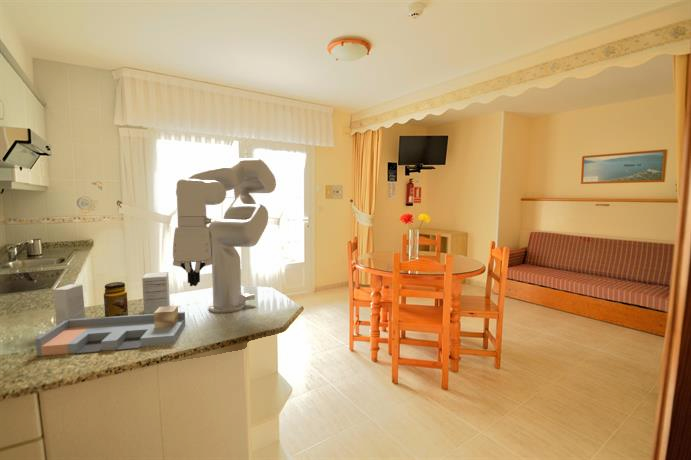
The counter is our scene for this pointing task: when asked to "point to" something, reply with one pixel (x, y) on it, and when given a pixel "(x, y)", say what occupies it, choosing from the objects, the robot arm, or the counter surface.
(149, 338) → the board
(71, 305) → the skincare box
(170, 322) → the block
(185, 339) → the counter surface
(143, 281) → the supplement box
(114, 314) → the condiment
